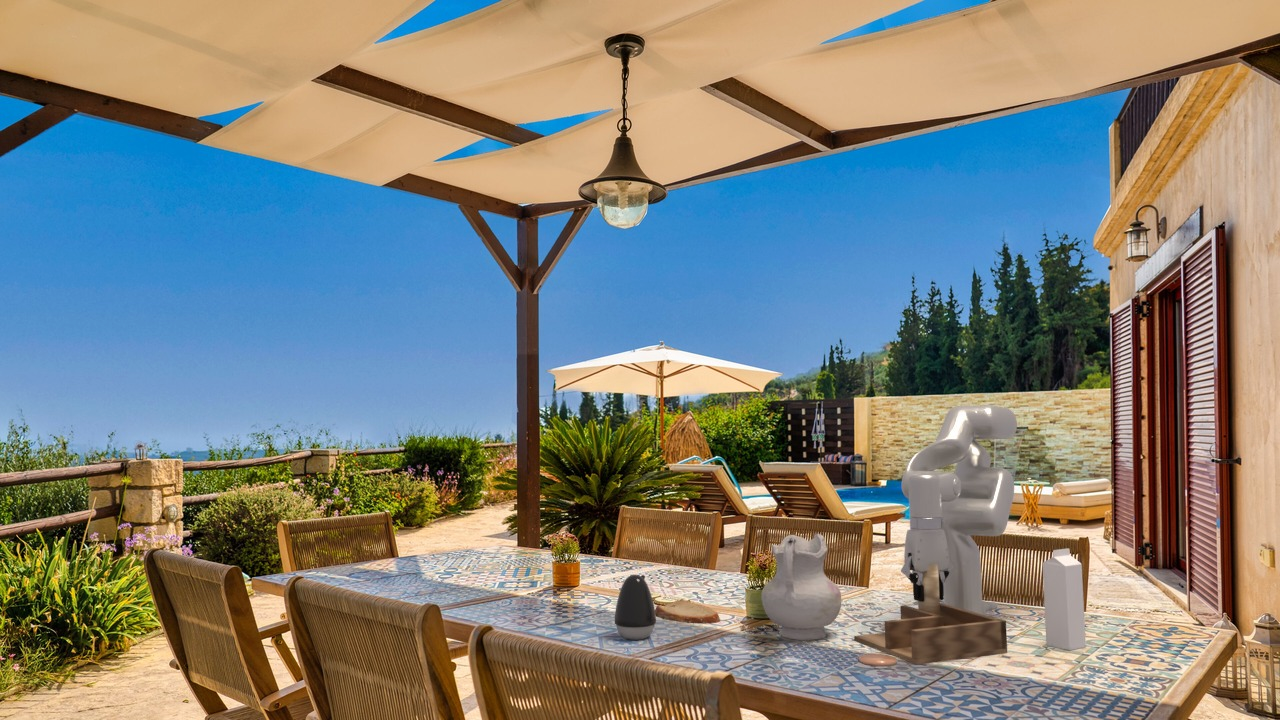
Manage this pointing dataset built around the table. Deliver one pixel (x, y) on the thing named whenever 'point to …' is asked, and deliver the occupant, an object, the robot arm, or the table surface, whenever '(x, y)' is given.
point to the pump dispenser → (635, 609)
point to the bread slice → (687, 612)
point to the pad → (877, 659)
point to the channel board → (939, 635)
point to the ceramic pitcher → (801, 589)
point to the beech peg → (931, 591)
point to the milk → (1064, 601)
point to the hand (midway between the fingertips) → (928, 599)
